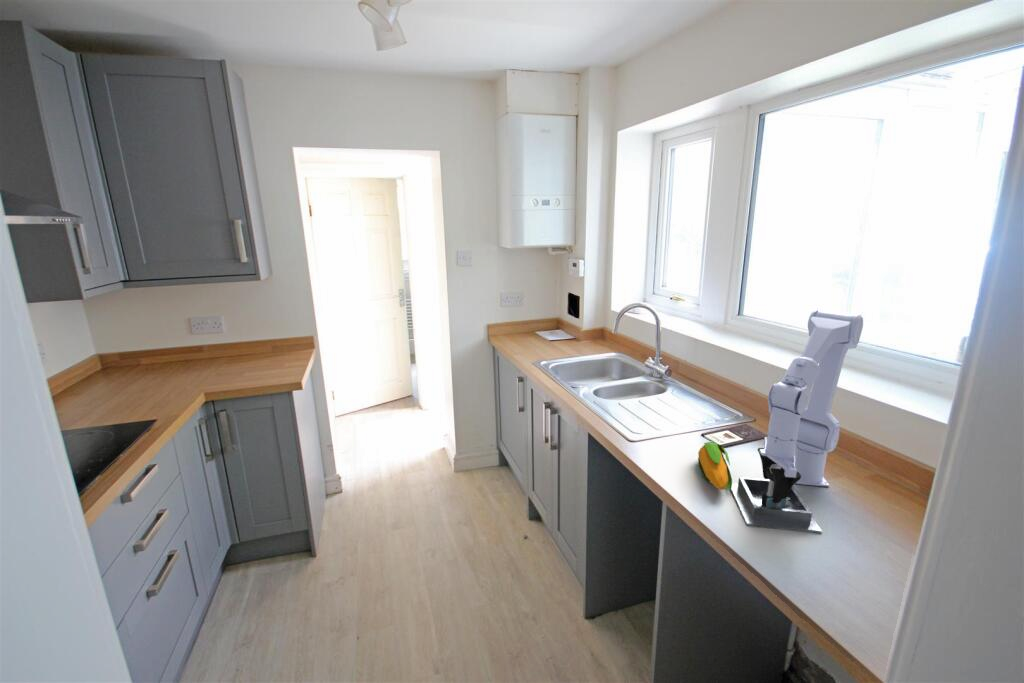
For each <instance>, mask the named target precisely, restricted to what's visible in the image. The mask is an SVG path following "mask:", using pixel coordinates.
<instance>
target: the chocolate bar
mask: <svg viewBox="0 0 1024 683" xmlns="http://www.w3.org/2000/svg"><path fill="white" fill-rule="evenodd" d="M700 436H702V437H703V438H705V439H707V440H709V442H712V443H716V444H719V445H721V446H722V447H723V448H724V449H726V448H731V447H735V446H740V445H743V444H748V443H752V442H756V441H760V440H761V441H762V440H764V438H765V437H767V436H768V434H766V433H765V432H763V431H761V430H758V429H756V428H755V427H753V426H751V425H748V424H747V423H743V424H740V425H735V426H731V427H730V426H729V427H727V428H726V427H725V428H721V429H716V430H713V431H712V430H711V431H707V432H703V433H701V434H700Z"/></svg>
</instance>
